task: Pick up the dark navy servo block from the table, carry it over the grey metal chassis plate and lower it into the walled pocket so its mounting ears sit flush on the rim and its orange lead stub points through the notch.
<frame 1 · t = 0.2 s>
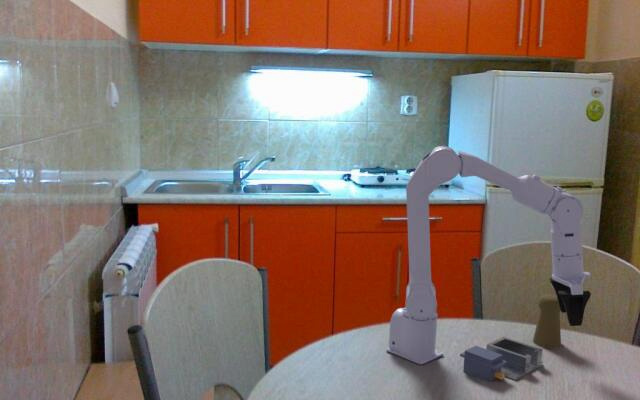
hand: (571, 318, 124), 11 cm above the table, tool pointing down, fingers open, 7 cm apart
chassis: (504, 363, 127), on the table
cork: (546, 343, 139), on the table
servo: (481, 374, 122), on the table
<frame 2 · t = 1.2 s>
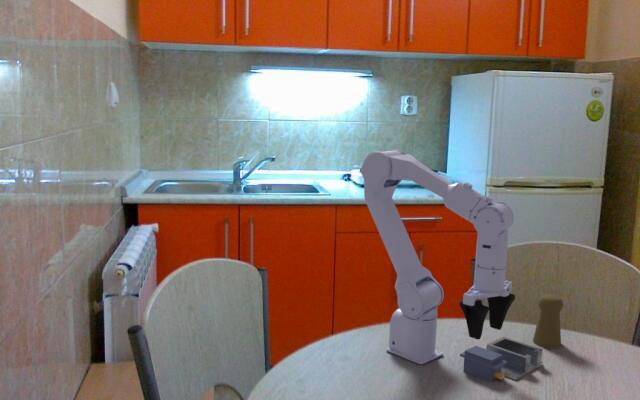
hand: (485, 332, 120), 8 cm above the table, tool pointing down, fingers open, 7 cm apart
nothing on the table moved.
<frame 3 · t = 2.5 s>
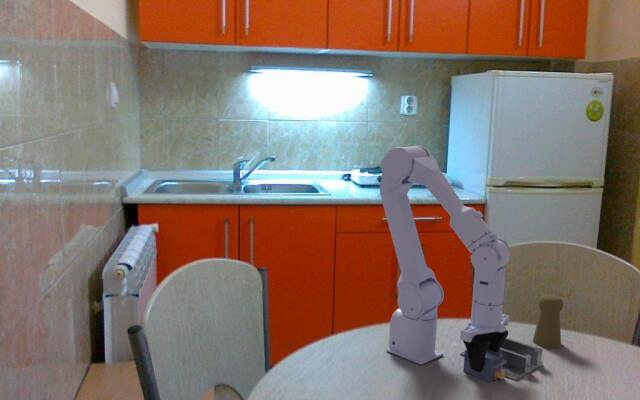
hand: (482, 366, 122), 1 cm above the table, tool pointing down, fingers closed on servo, 4 cm apart
servo: (481, 373, 122), on the table, touching gripper
everything else where it was.
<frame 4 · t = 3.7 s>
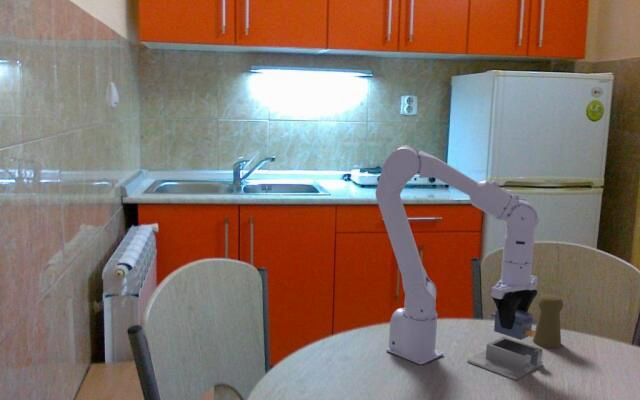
hand: (512, 325, 125), 9 cm above the table, tool pointing down, fingers closed on servo, 4 cm apart
servo: (512, 333, 125), point 7 cm above the table, touching gripper
everything else where it was.
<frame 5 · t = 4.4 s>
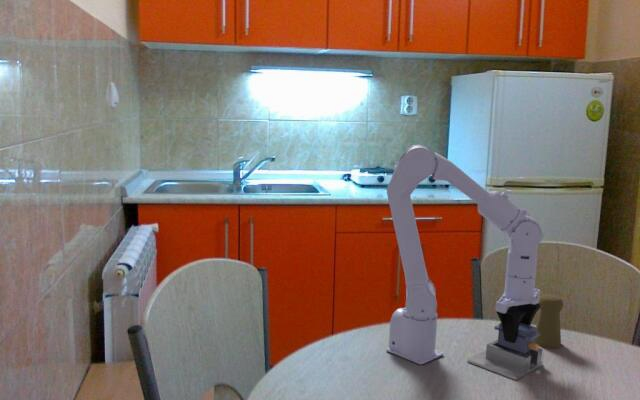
hand: (515, 338, 126), 5 cm above the table, tool pointing down, fingers closed on servo, 4 cm apart
servo: (515, 346, 127), point 4 cm above the table, touching gripper
everything else where it was.
when the fingers open (4 cm above the table, at t = 5.1 s): servo drops 2 cm, resting on chassis.
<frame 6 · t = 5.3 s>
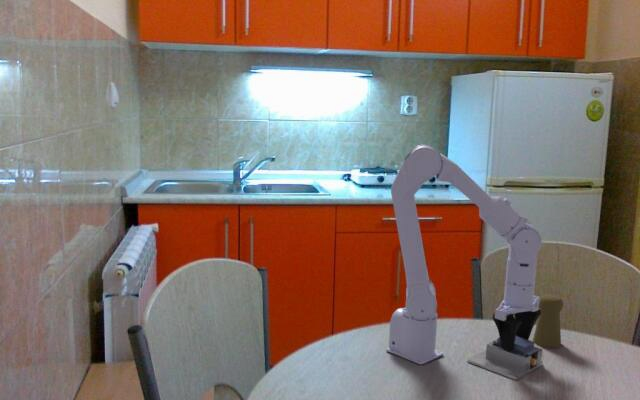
hand: (514, 345, 127), 4 cm above the table, tool pointing down, fingers open, 6 cm apart
servo: (514, 360, 127), point 1 cm above the table, touching chassis
everything else where it was.
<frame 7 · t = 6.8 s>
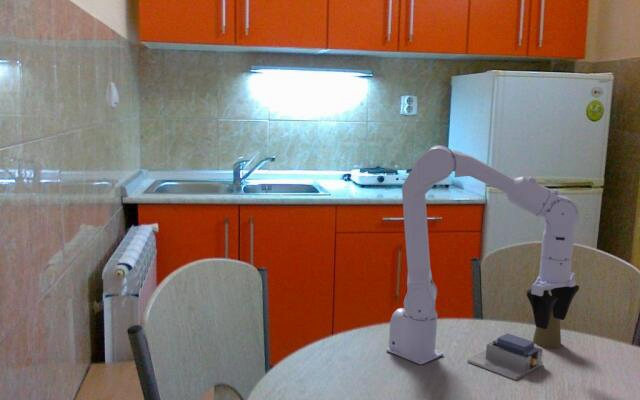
hand: (550, 322, 123), 10 cm above the table, tool pointing down, fingers open, 7 cm apart
nothing on the table moved.
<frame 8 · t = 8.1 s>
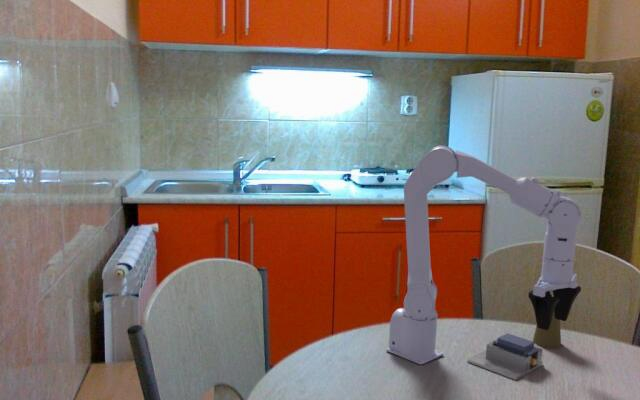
hand: (552, 324, 122), 10 cm above the table, tool pointing down, fingers open, 7 cm apart
nothing on the table moved.
at the end: servo 0.2 cm from the target spot on the chassis, point 0.6 cm above the chassis's base; servo tilted 0° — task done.
